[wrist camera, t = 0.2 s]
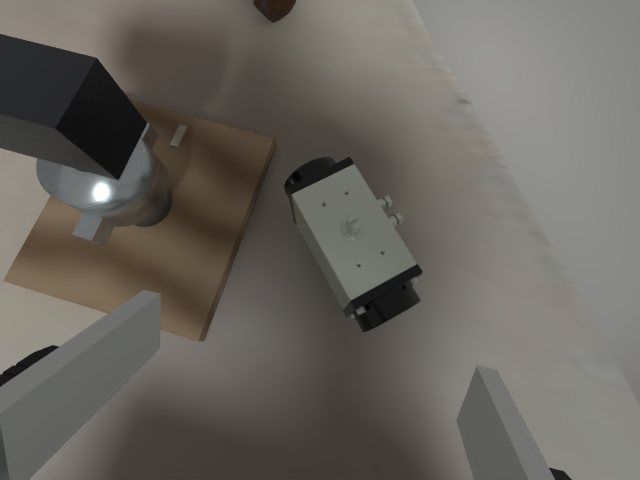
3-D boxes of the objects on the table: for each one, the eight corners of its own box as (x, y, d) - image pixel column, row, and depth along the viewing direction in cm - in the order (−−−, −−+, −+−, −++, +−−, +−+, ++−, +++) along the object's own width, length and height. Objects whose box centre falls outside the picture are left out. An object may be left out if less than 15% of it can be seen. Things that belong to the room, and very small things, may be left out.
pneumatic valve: (350, 336, 30) (370, 332, 18) (290, 224, 33) (274, 160, 21) (404, 306, 31) (456, 283, 19) (340, 199, 34) (352, 124, 22)
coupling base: (204, 341, 30) (182, 340, 25) (17, 283, 31) (-37, 272, 26) (276, 145, 35) (269, 114, 31) (115, 104, 37) (84, 68, 32)
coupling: (156, 261, 26) (18, 190, 14) (39, 227, 27) (-188, 132, 15) (205, 148, 29) (125, 9, 17) (98, 120, 30) (-53, -33, 18)
